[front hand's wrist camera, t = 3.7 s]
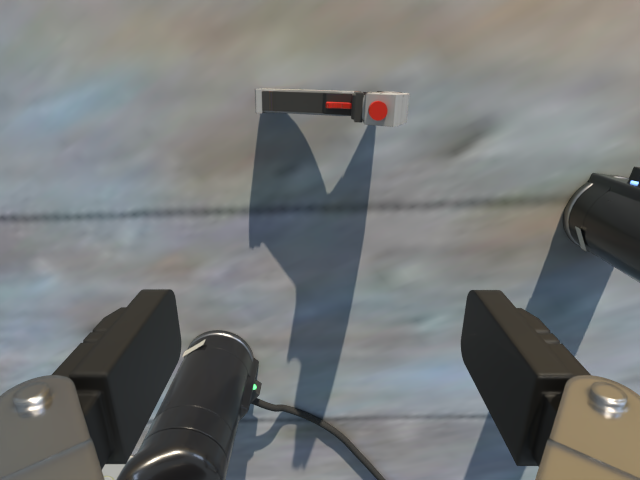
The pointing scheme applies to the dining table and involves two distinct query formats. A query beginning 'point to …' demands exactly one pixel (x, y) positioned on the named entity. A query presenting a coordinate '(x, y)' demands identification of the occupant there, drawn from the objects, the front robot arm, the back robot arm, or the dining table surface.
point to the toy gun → (337, 104)
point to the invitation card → (112, 470)
